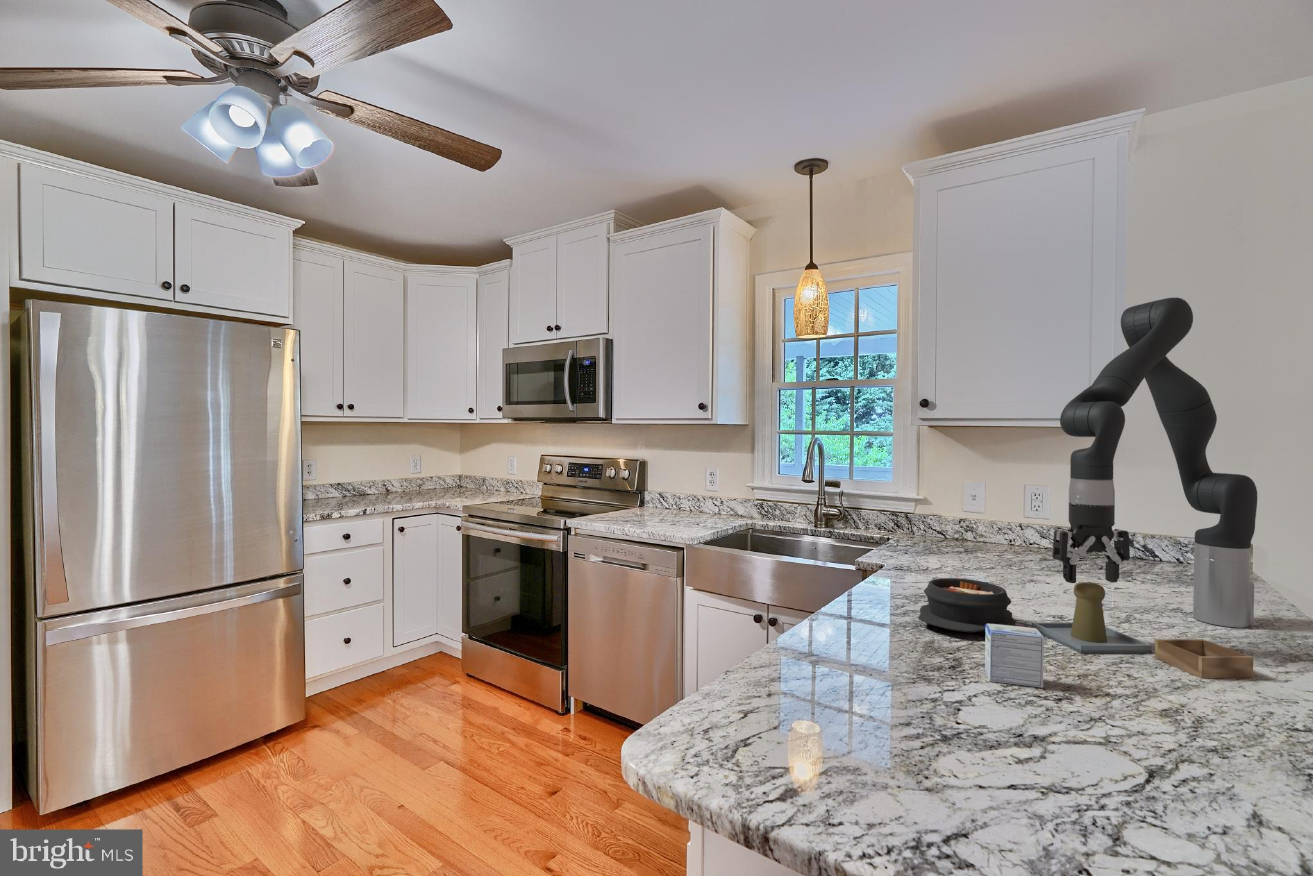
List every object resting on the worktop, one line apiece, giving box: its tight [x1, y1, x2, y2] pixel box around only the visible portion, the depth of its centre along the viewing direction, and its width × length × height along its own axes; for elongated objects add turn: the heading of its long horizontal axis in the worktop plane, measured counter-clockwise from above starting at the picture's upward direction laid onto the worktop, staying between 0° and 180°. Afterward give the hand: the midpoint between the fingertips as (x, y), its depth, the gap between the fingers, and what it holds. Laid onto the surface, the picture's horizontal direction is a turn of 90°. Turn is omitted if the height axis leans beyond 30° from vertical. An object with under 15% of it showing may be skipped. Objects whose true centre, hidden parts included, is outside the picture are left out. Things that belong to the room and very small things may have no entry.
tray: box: [1031, 621, 1153, 655], centre depth 122 cm, size 14×14×2 cm
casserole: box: [918, 577, 1016, 633], centre depth 132 cm, size 25×19×8 cm
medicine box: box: [984, 624, 1045, 688], centre depth 101 cm, size 8×4×9 cm, turn 71°
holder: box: [1154, 638, 1254, 679], centre depth 108 cm, size 9×9×4 cm
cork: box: [1071, 581, 1107, 643], centre depth 122 cm, size 6×6×11 cm
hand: (1090, 582), depth 121 cm, fingers open, 8 cm apart
